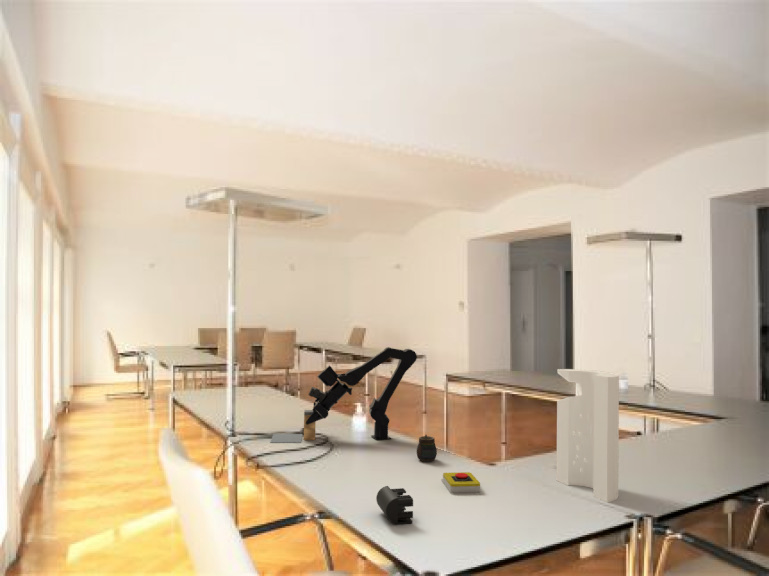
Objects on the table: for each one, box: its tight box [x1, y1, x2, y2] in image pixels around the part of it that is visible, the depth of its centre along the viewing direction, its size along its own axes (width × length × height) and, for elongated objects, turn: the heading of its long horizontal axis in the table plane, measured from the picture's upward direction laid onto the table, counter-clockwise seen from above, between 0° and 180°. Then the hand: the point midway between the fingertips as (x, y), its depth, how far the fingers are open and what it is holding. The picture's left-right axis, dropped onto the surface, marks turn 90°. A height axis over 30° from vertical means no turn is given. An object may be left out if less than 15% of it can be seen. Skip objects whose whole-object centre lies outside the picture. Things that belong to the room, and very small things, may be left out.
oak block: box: [303, 409, 317, 441], centre depth 226 cm, size 4×4×11 cm
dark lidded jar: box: [416, 434, 438, 463], centre depth 197 cm, size 7×8×10 cm
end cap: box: [375, 485, 414, 526], centre depth 142 cm, size 10×7×7 cm
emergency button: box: [440, 471, 483, 496], centre depth 168 cm, size 9×4×15 cm
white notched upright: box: [555, 368, 620, 503], centre depth 169 cm, size 35×11×21 cm
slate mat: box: [269, 433, 304, 444], centre depth 225 cm, size 12×14×1 cm
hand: (306, 421), depth 226 cm, fingers open, 7 cm apart
